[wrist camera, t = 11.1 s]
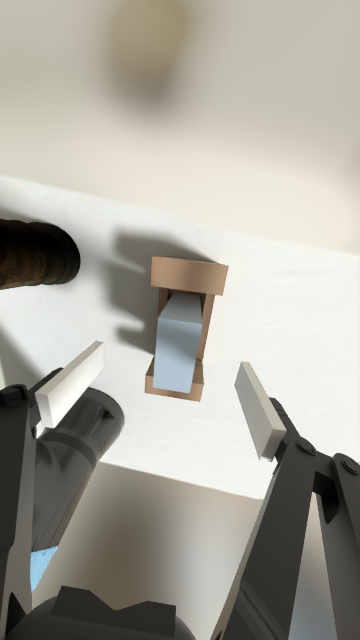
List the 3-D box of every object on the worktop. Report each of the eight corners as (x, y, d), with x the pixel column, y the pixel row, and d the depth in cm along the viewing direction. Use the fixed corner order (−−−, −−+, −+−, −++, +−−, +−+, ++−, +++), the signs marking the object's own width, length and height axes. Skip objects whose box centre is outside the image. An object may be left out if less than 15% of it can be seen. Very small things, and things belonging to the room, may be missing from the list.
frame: (158, 357, 32) (144, 392, 24) (166, 256, 26) (151, 256, 17) (199, 363, 32) (199, 401, 23) (217, 263, 25) (228, 266, 17)
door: (169, 337, 29) (152, 387, 18) (174, 291, 26) (157, 317, 15) (192, 340, 29) (189, 393, 18) (199, 295, 26) (202, 324, 15)
